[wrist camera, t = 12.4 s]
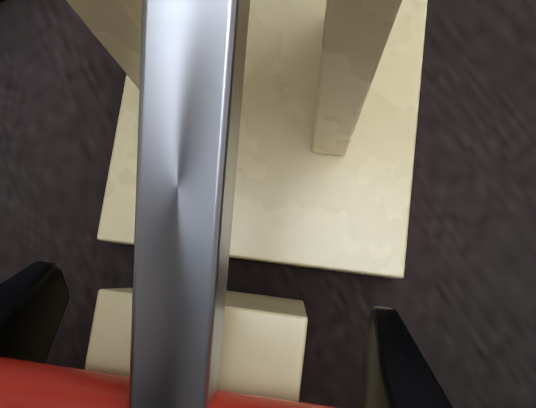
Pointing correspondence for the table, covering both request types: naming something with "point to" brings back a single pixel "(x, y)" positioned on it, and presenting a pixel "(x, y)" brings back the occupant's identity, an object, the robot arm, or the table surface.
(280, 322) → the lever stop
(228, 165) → the red handled lever
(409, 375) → the robot arm
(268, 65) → the lever stand
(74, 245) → the table surface
